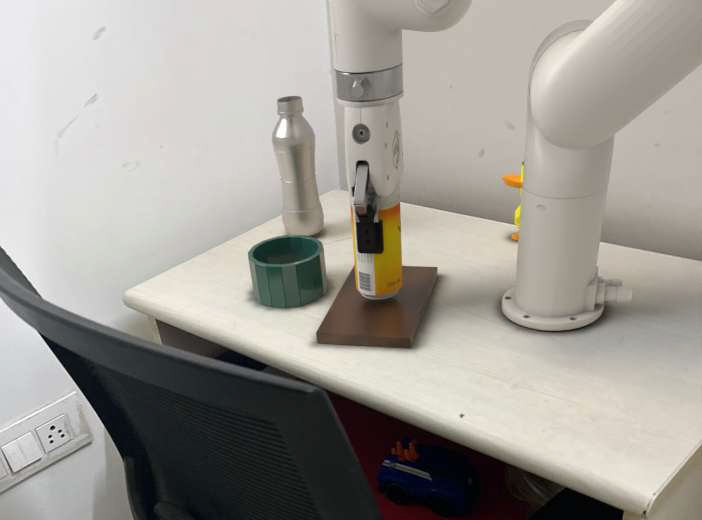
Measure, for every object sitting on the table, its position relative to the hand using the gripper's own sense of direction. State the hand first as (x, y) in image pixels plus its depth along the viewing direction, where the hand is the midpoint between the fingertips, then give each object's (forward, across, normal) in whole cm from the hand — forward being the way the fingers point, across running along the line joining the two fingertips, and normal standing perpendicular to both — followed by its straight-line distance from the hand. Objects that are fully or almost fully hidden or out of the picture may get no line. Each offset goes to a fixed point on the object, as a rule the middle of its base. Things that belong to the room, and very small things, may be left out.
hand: (377, 239), depth 97 cm
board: (+9, 0, 0) cm, 9 cm away
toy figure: (+10, +24, -16) cm, 30 cm away
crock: (+9, +4, +14) cm, 17 cm away
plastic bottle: (+10, +24, +18) cm, 31 cm away
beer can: (+7, 0, 0) cm, 7 cm away
